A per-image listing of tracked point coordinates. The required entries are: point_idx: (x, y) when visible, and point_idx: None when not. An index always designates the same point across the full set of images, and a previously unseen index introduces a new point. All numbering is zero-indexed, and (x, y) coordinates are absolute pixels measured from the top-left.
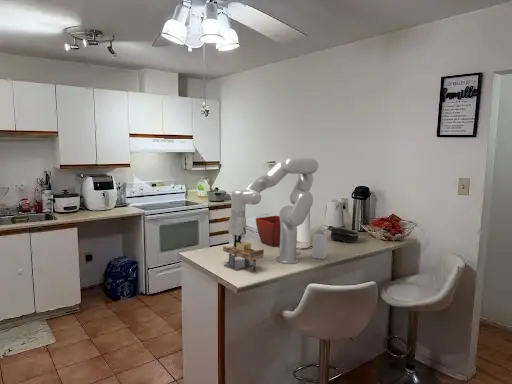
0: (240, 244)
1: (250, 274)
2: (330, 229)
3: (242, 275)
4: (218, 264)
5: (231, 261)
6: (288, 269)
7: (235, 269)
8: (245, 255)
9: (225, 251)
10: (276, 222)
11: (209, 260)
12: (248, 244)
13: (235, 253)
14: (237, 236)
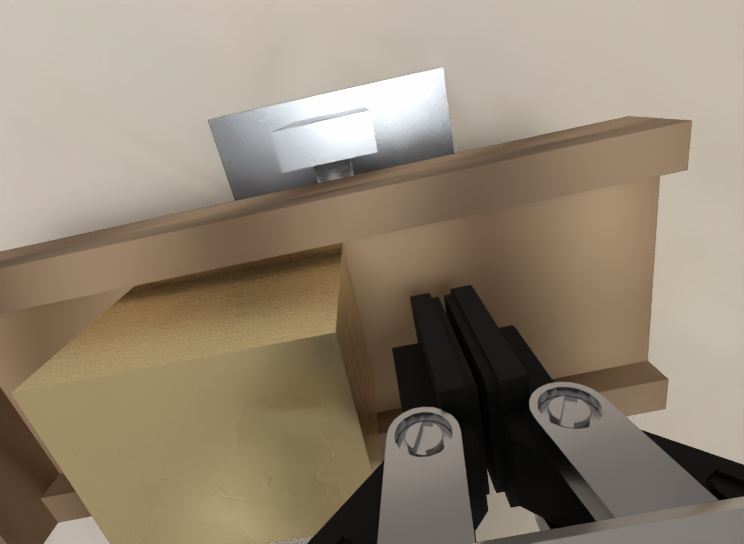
0: (166, 351)
1: (56, 201)
2: None
3: (45, 101)
4: (535, 38)
5: (325, 117)
6: (98, 526)
7: (229, 115)
8: (19, 258)
9: (562, 131)
10: None
11: (739, 9)
12: (100, 497)
13: (292, 194)
14: (425, 531)
